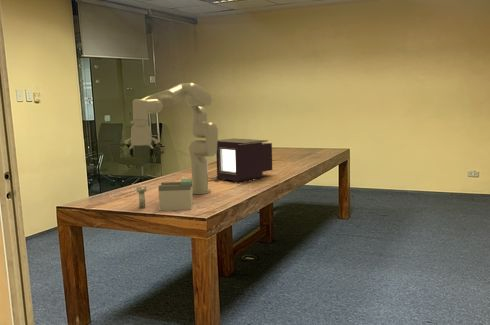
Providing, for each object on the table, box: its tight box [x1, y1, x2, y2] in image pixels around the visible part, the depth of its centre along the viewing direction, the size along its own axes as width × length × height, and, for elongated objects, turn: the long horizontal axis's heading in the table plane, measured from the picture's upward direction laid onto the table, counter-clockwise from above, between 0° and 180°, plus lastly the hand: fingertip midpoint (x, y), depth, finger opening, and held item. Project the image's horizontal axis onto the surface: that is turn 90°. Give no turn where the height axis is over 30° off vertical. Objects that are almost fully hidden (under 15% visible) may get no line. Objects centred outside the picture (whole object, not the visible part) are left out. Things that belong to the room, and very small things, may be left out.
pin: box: [135, 186, 147, 210], centre depth 238 cm, size 5×5×11 cm
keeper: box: [179, 178, 192, 185], centre depth 237 cm, size 9×5×2 cm, turn 2°
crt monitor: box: [215, 138, 273, 184], centre depth 322 cm, size 35×35×27 cm
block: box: [157, 181, 194, 211], centre depth 238 cm, size 12×16×12 cm
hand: (141, 156), depth 236 cm, fingers open, 9 cm apart
